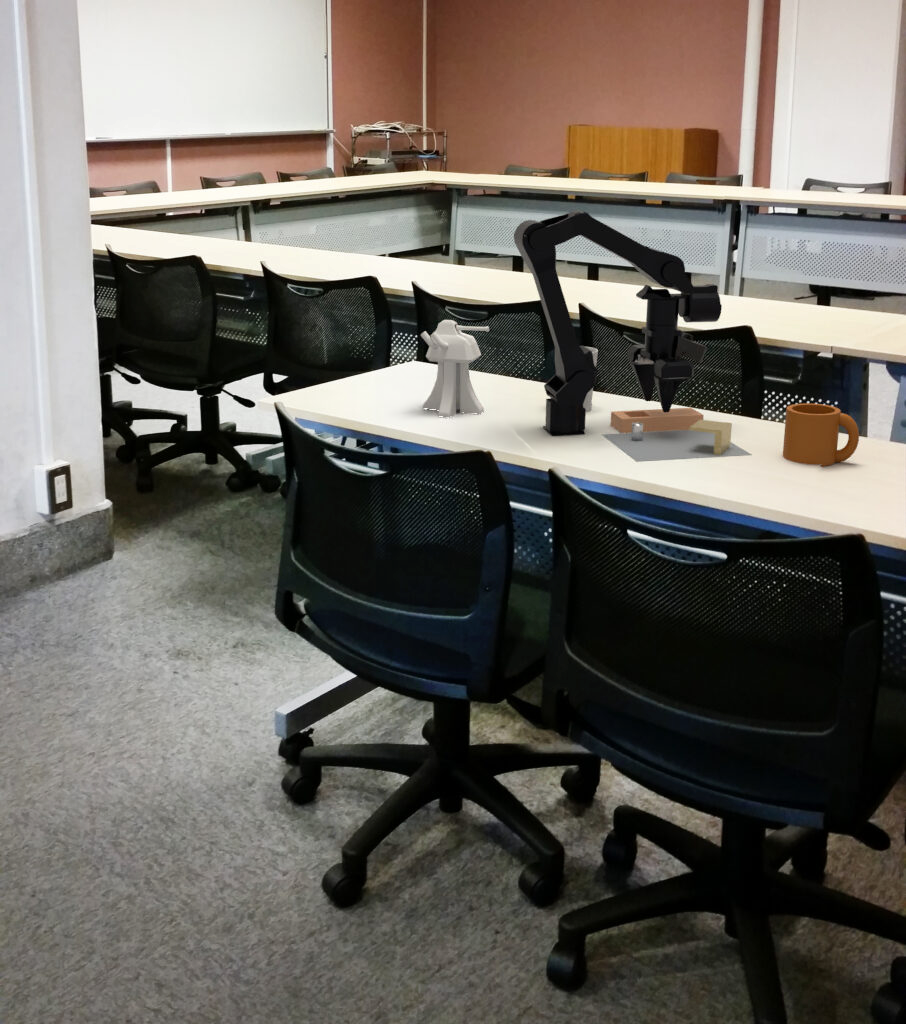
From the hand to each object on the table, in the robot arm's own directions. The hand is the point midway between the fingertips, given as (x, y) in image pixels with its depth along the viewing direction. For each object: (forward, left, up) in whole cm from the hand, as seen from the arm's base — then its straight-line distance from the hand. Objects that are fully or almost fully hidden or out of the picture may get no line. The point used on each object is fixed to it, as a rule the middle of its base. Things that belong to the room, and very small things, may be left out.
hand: (656, 406), depth 223 cm
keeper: (+3, -17, -4) cm, 17 cm away
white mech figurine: (-34, +21, -4) cm, 40 cm away
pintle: (-7, -9, -4) cm, 12 cm away
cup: (-10, +18, -4) cm, 21 cm away
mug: (+19, -27, -5) cm, 33 cm away
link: (0, 0, -4) cm, 4 cm away
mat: (-1, -13, -4) cm, 14 cm away
